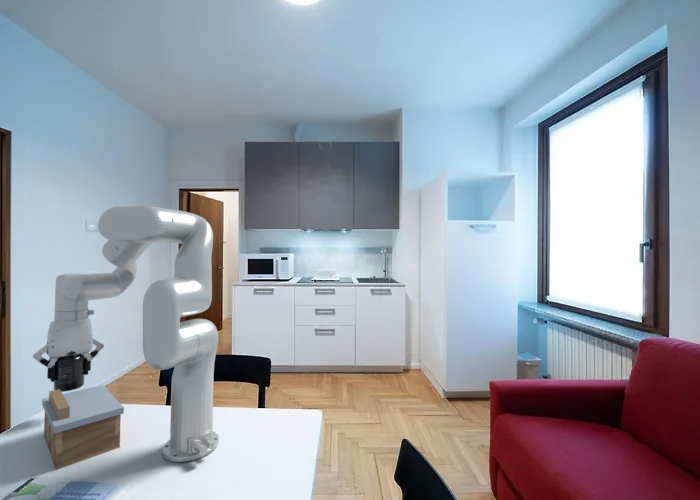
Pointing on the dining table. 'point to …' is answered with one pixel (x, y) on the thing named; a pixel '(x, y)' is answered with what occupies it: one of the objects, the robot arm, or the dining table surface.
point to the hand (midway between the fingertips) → (69, 376)
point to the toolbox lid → (80, 407)
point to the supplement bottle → (69, 372)
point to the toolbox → (82, 441)
